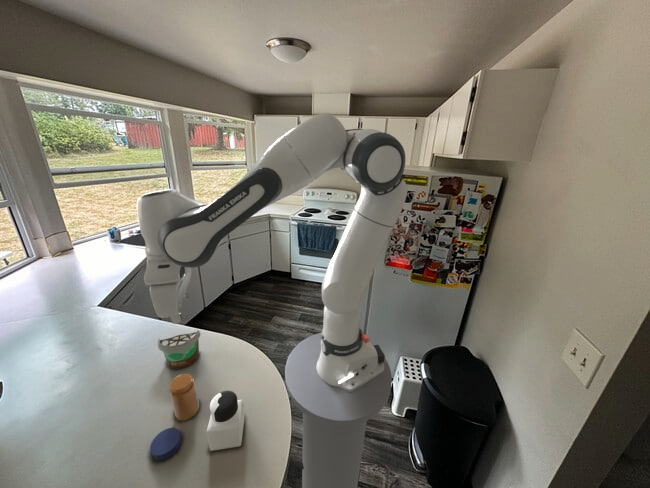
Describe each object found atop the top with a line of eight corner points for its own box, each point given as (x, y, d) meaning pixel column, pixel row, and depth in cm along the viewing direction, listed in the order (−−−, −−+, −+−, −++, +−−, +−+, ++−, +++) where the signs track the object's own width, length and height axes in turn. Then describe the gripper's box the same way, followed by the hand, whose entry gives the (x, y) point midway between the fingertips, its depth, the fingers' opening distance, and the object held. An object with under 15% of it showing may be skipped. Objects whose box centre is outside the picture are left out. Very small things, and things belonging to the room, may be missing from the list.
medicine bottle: (244, 417, 67) (241, 384, 63) (241, 446, 60) (236, 412, 56) (216, 421, 66) (211, 388, 61) (209, 451, 59) (203, 417, 55)
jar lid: (147, 463, 56) (145, 458, 56) (157, 435, 62) (155, 430, 61) (177, 457, 58) (175, 451, 57) (184, 429, 64) (183, 424, 63)
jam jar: (197, 396, 72) (191, 368, 68) (201, 412, 68) (195, 384, 64) (174, 406, 69) (167, 378, 65) (176, 425, 65) (169, 395, 61)
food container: (159, 377, 78) (153, 352, 74) (162, 362, 83) (156, 338, 79) (203, 364, 82) (199, 341, 79) (203, 351, 88) (199, 328, 84)
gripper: (166, 245, 66) (176, 290, 71) (140, 282, 48) (155, 339, 53) (193, 243, 68) (200, 287, 73) (177, 278, 50) (188, 334, 55)
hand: (181, 309), depth 63 cm, fingers open, 8 cm apart
